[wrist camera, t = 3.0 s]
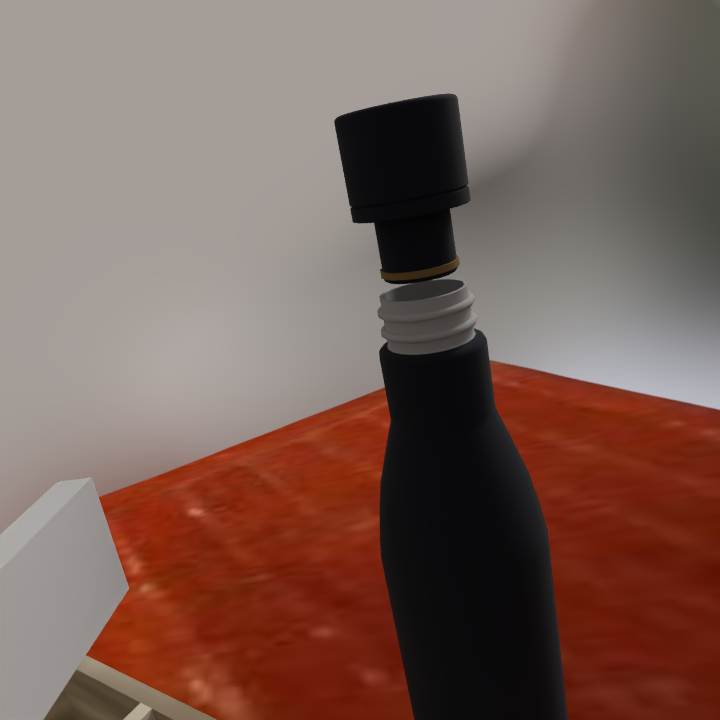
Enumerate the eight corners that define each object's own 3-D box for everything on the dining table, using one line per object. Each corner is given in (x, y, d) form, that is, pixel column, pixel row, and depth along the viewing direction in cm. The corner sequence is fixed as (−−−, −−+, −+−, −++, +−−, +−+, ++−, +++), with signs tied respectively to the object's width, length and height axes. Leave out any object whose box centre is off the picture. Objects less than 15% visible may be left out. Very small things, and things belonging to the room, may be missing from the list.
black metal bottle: (590, 885, 25) (506, 74, 16) (430, 878, 26) (266, 125, 17) (565, 740, 31) (494, 91, 22) (436, 740, 32) (317, 128, 23)
